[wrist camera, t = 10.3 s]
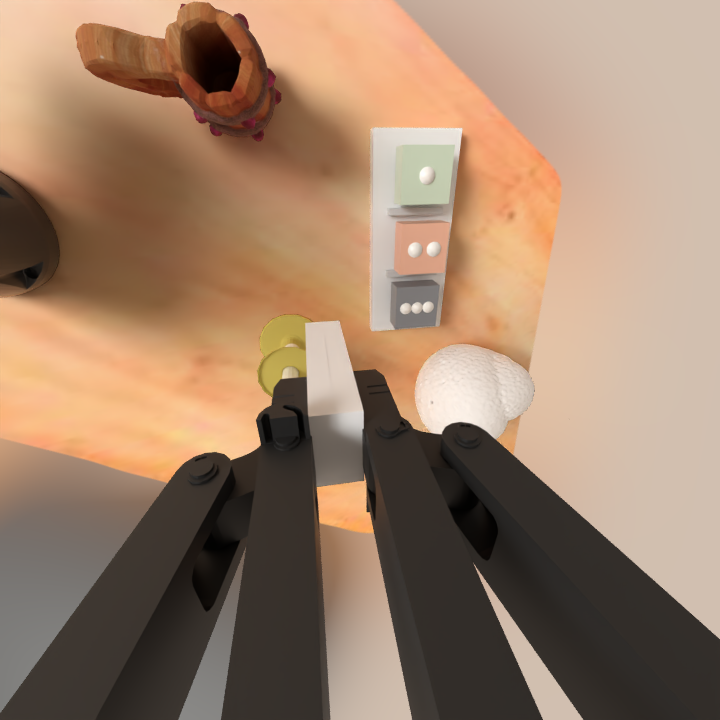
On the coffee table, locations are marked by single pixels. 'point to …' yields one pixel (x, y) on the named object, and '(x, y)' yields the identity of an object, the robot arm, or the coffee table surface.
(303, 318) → the candle
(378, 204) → the board
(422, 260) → the tile terracotta
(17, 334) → the coffee table surface
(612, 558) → the robot arm
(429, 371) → the white rounded lump
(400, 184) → the tile sage
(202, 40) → the mug
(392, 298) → the tile charcoal
